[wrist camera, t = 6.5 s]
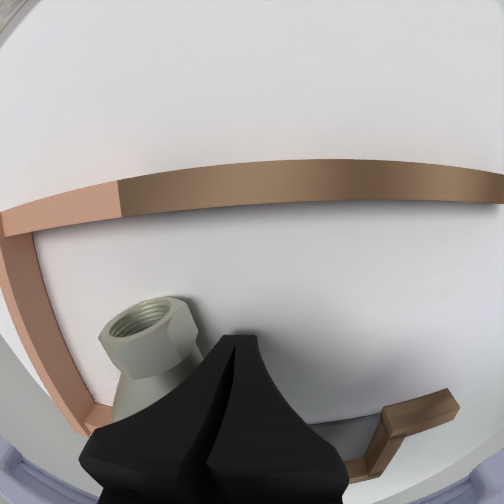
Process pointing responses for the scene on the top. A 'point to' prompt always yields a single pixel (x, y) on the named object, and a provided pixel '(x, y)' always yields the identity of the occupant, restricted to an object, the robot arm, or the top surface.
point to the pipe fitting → (150, 352)
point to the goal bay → (36, 300)
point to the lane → (324, 189)
